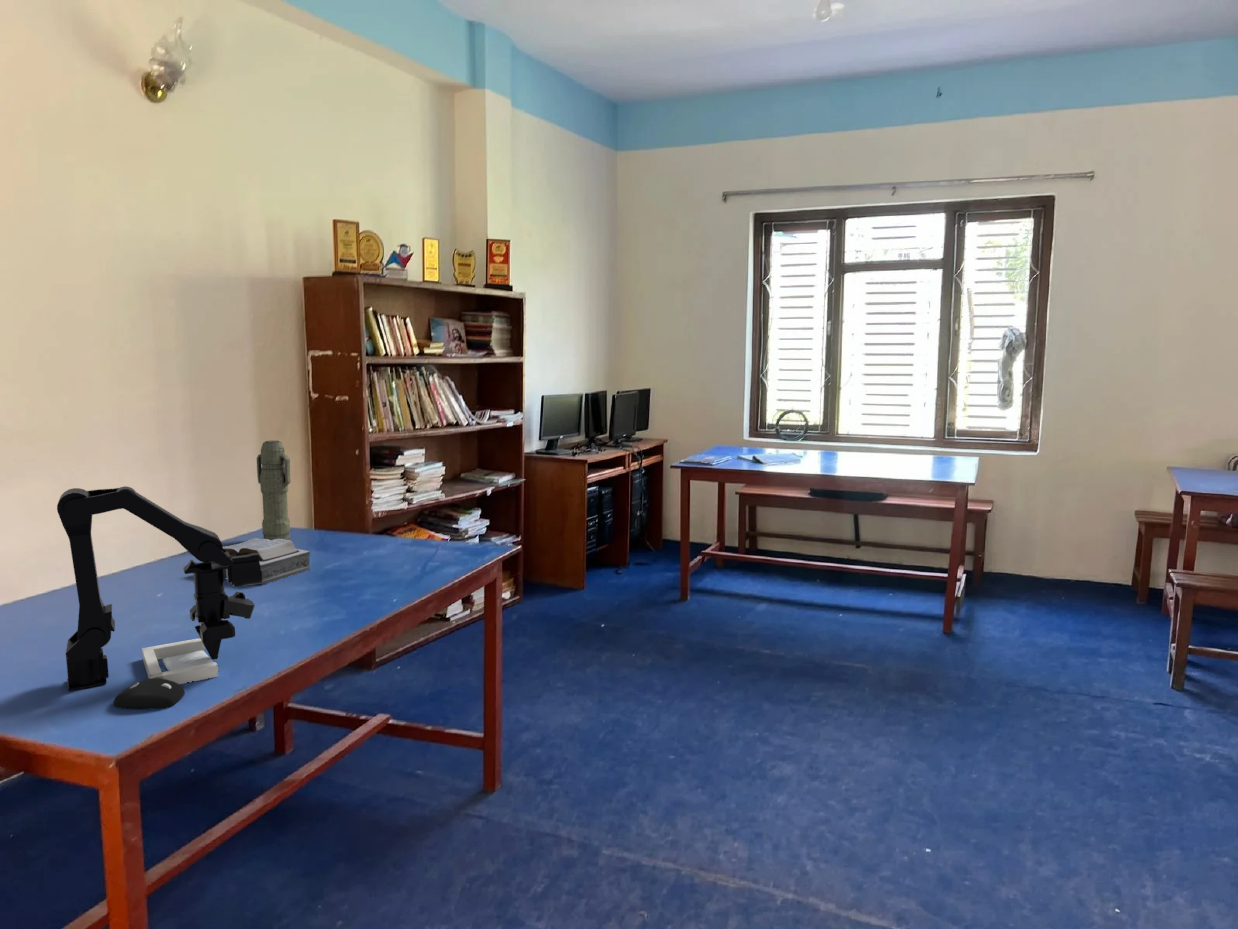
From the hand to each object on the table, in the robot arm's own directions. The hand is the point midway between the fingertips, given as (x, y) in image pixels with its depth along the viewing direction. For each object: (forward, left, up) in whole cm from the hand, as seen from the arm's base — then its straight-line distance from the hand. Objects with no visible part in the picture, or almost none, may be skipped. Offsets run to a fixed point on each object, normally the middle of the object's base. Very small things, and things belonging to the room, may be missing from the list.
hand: (214, 658), depth 176 cm
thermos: (+37, +107, -1) cm, 114 cm away
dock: (-7, 0, -1) cm, 7 cm away
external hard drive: (-5, -1, -1) cm, 5 cm away
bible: (+22, +68, -1) cm, 72 cm away
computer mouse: (-14, -15, -1) cm, 20 cm away
